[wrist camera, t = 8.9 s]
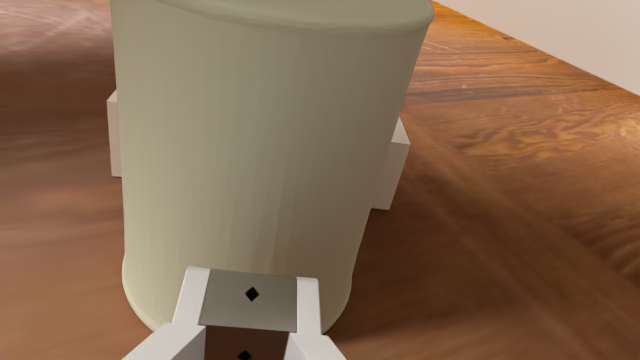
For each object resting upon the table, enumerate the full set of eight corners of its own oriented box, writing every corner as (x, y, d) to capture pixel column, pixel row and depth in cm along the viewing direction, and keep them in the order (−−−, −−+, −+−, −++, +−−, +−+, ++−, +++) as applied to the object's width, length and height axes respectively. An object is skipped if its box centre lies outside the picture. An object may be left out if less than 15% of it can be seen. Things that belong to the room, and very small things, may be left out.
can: (102, 218, 20) (74, -98, 14) (290, 186, 25) (335, -62, 19) (156, 403, 14) (150, -10, 8) (393, 316, 19) (514, 10, 12)
